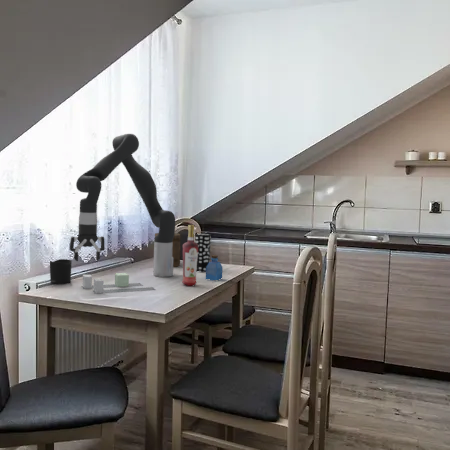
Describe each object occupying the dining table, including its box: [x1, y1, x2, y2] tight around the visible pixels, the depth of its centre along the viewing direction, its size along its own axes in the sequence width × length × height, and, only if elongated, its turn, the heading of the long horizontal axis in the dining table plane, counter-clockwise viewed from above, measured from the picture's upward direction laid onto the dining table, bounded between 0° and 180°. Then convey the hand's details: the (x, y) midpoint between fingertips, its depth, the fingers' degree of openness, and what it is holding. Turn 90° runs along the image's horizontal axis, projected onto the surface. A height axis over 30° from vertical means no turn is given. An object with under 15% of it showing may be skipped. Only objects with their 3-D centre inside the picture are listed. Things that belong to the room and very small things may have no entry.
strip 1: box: [81, 274, 144, 290], centre depth 213 cm, size 26×6×6 cm, turn 115°
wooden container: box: [154, 232, 181, 268], centre depth 276 cm, size 15×15×22 cm
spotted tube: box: [194, 233, 212, 273], centre depth 263 cm, size 8×8×20 cm
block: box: [114, 272, 130, 288], centre depth 214 cm, size 5×5×5 cm
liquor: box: [181, 224, 198, 287], centre depth 224 cm, size 7×7×28 cm
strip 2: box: [92, 278, 157, 295], centre depth 205 cm, size 26×6×6 cm, turn 115°
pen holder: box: [49, 258, 73, 285], centre depth 219 cm, size 9×9×10 cm
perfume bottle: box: [205, 254, 224, 281], centre depth 241 cm, size 6×6×12 cm
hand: (87, 260), depth 207 cm, fingers open, 8 cm apart
